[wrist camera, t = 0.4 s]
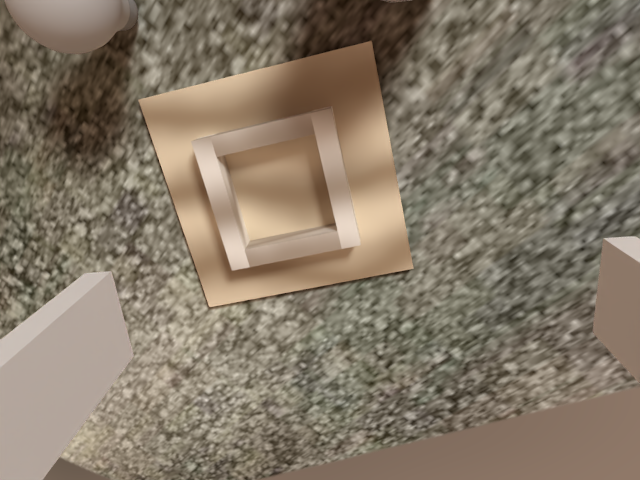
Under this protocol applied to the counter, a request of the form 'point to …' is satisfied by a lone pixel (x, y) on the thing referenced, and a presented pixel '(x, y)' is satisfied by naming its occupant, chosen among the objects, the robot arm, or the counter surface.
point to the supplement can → (392, 0)
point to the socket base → (283, 176)
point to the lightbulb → (73, 22)
